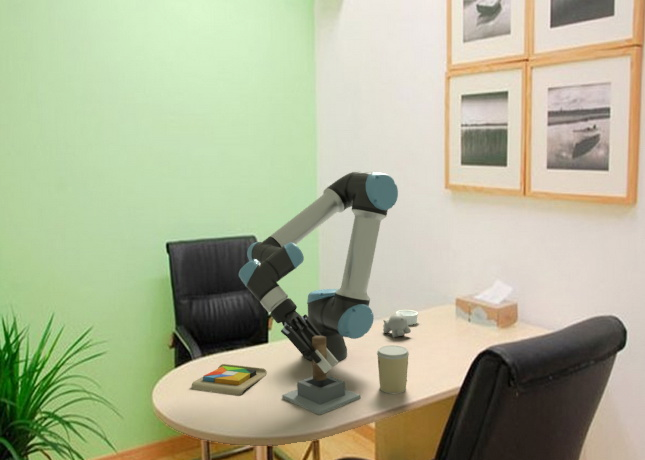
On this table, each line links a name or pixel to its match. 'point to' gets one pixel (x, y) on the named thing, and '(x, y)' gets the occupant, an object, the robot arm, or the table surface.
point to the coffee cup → (392, 368)
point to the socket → (321, 394)
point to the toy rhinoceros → (396, 325)
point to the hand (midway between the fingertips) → (331, 367)
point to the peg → (320, 345)
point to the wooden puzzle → (230, 379)
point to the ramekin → (409, 316)
